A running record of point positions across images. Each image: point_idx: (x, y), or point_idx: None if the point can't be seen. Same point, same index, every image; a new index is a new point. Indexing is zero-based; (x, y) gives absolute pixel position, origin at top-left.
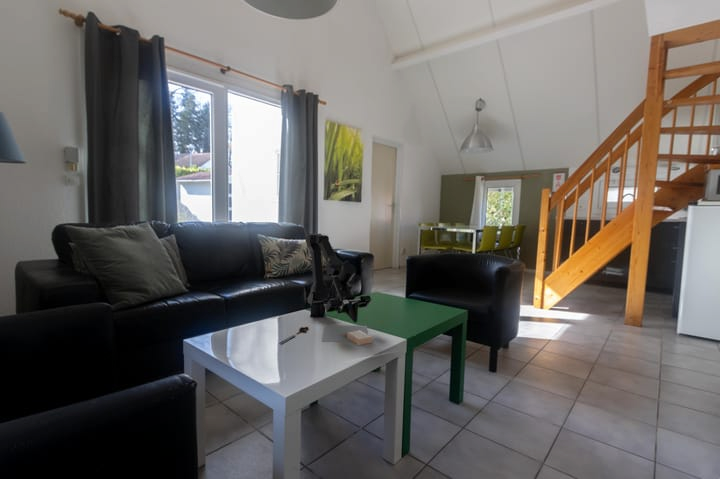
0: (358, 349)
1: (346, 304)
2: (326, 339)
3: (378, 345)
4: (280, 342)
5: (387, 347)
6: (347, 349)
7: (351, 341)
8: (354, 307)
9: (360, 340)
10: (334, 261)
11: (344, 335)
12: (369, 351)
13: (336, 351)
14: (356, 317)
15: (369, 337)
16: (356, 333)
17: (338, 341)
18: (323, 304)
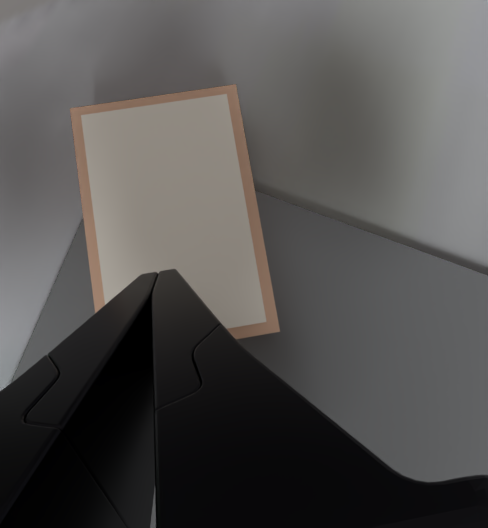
0: (258, 66)
1: (464, 480)
2: (484, 337)
3: (57, 92)
4: None
5: (6, 29)
6: (346, 93)
7: (267, 211)
8: (67, 460)
9: (215, 94)
10: None
11: None
12: (189, 3)
13: (444, 83)
14: (133, 296)
15: (103, 108)
16: (191, 254)
17: (385, 250)
18: None
